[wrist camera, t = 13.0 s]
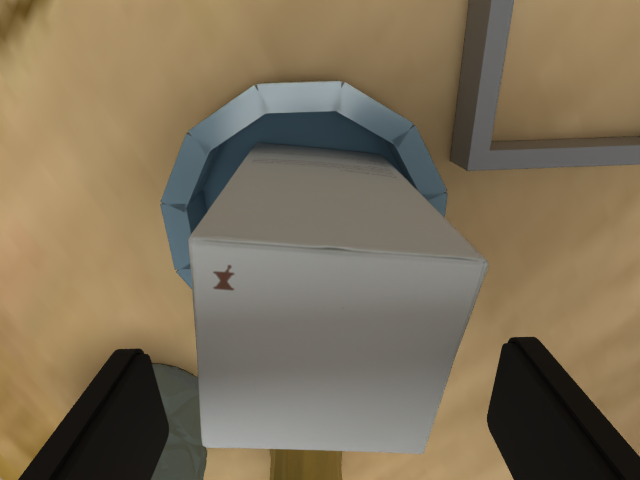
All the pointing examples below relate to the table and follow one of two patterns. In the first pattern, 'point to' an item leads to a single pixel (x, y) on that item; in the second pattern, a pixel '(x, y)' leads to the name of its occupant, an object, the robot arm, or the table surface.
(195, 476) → the blue-grey cup
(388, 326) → the supplement box
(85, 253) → the table surface
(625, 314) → the table surface
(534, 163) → the gray square frame
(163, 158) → the table surface
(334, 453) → the vase
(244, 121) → the bowl
